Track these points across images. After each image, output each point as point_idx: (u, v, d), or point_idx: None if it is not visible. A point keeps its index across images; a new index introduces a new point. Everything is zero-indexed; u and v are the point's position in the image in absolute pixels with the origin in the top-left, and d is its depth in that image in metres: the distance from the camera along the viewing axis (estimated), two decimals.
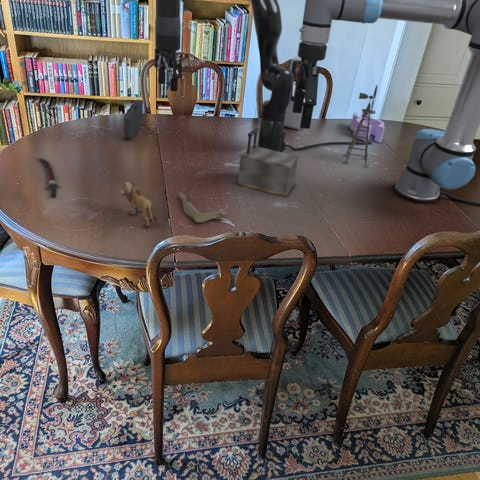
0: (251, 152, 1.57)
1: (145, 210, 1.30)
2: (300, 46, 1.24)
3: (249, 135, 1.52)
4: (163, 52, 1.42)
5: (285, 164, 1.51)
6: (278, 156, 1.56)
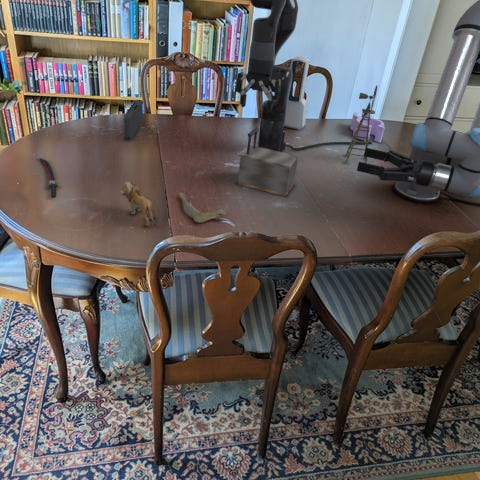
0: (251, 152, 1.57)
1: (145, 210, 1.30)
2: None
3: (249, 135, 1.52)
4: None
5: (285, 164, 1.51)
6: (278, 156, 1.56)
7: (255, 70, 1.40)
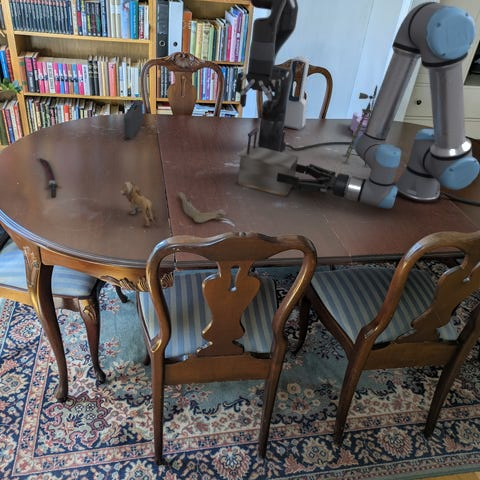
0: (251, 152, 1.57)
1: (145, 210, 1.30)
2: None
3: (249, 135, 1.52)
4: None
5: (285, 164, 1.51)
6: (278, 156, 1.56)
7: (255, 70, 1.40)
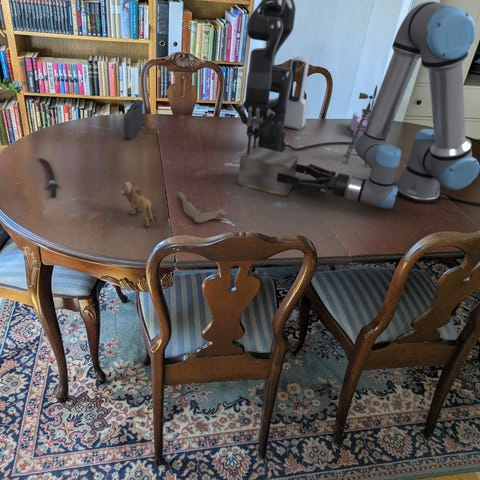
0: (251, 152, 1.57)
1: (145, 210, 1.30)
2: None
3: (249, 135, 1.52)
4: None
5: (285, 164, 1.51)
6: (278, 156, 1.56)
7: (252, 98, 1.45)
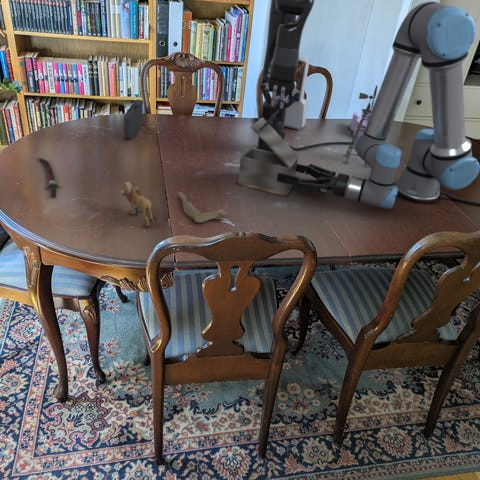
0: (263, 129, 1.51)
1: (145, 210, 1.30)
2: None
3: (273, 116, 1.46)
4: None
5: (287, 162, 1.50)
6: (283, 147, 1.54)
7: (278, 76, 1.39)
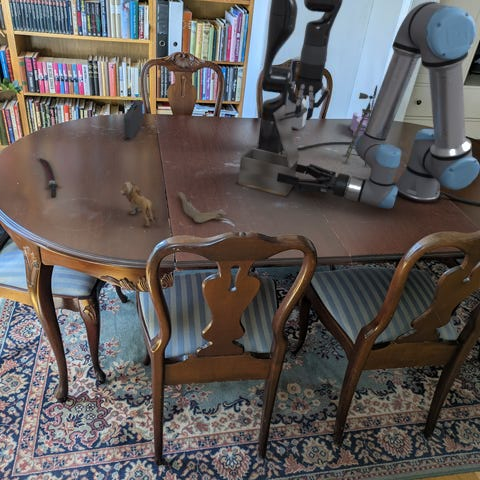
0: (282, 119, 1.47)
1: (145, 210, 1.30)
2: None
3: (299, 115, 1.42)
4: None
5: (290, 161, 1.50)
6: (291, 144, 1.52)
7: (306, 74, 1.35)
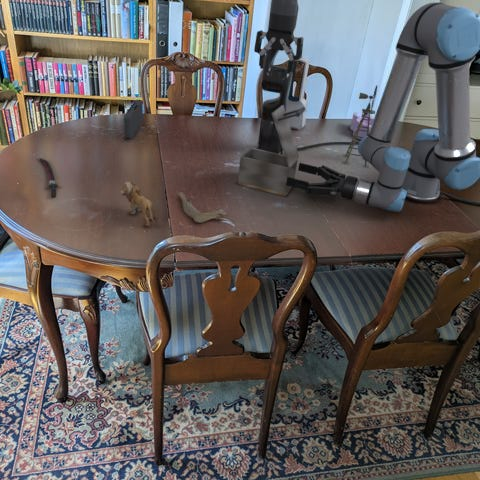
0: (280, 119, 1.48)
1: (145, 210, 1.30)
2: None
3: (297, 114, 1.42)
4: None
5: (289, 161, 1.50)
6: (290, 144, 1.52)
7: (276, 26, 1.32)
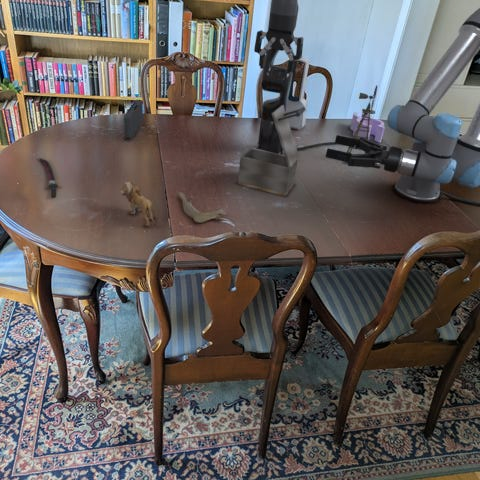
0: (280, 119, 1.48)
1: (145, 210, 1.30)
2: None
3: (297, 114, 1.42)
4: None
5: (289, 161, 1.50)
6: (290, 144, 1.52)
7: (276, 26, 1.32)
